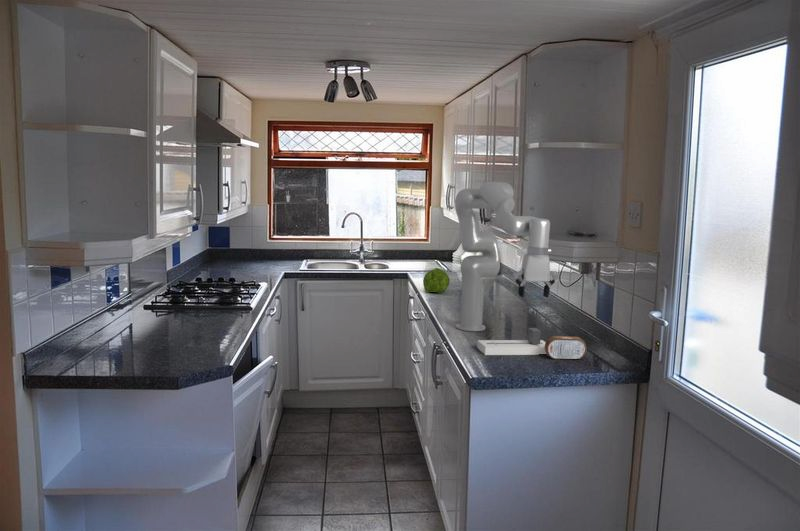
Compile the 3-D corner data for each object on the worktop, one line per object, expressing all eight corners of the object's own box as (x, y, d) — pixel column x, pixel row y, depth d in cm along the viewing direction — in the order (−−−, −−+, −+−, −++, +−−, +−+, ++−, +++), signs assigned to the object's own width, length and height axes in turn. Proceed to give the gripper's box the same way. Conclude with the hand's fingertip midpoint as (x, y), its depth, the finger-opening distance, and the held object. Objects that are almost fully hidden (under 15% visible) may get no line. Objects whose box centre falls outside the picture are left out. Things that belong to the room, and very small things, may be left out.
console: (477, 347, 247) (477, 339, 247) (541, 347, 252) (542, 339, 251) (485, 355, 237) (485, 346, 237) (552, 354, 242) (552, 346, 242)
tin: (584, 358, 238) (585, 336, 237) (586, 361, 235) (588, 338, 234) (543, 357, 238) (545, 335, 237) (545, 359, 235) (547, 337, 234)
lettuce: (424, 288, 384) (449, 292, 383) (420, 292, 360) (447, 296, 358) (428, 264, 384) (453, 268, 382) (424, 266, 359) (451, 270, 358)
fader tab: (527, 340, 248) (528, 327, 247) (535, 340, 248) (535, 327, 247) (532, 344, 243) (533, 331, 242) (540, 344, 243) (540, 331, 243)
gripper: (555, 250, 247) (551, 295, 250) (511, 249, 244) (508, 294, 246) (563, 253, 240) (559, 299, 242) (518, 252, 237) (515, 298, 239)
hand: (533, 296), depth 244 cm, fingers open, 9 cm apart
